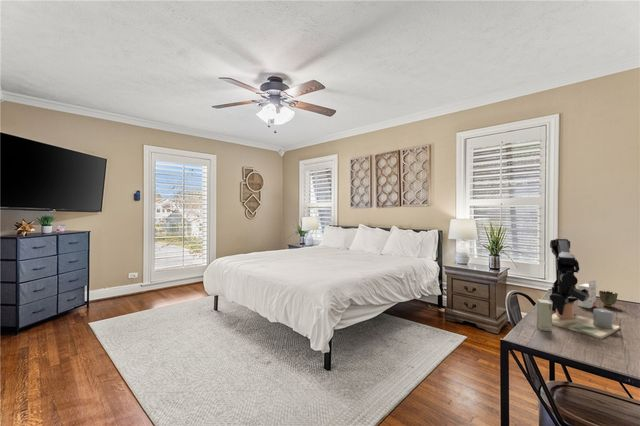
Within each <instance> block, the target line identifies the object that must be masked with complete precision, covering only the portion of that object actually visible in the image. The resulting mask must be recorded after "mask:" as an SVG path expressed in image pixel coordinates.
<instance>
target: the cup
mask: <svg viewBox="0 0 640 426" xmlns="http://www.w3.org/2000/svg"><path fill="white" fill-rule="evenodd" d="M598 295H599V300H600V302H601V303H602V306H604V307H605V308H613V305H615V304H616V303H617V300H618V293H617V292H615V293H613V291H609V290H607V291H605V290H604V291H603V290H599V291H598Z"/></svg>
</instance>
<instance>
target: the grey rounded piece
mask: <svg viewBox="0 0 640 426" xmlns="http://www.w3.org/2000/svg"><path fill="white" fill-rule="evenodd" d="M592 315H593V316H592V319H593V325H594V326H596V327H599V328H603V329H613V325H614V312H613V311H612V310H607V309H605V308H604V309H603V308H598V307H597V308H593V311H592Z"/></svg>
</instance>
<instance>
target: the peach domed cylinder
mask: <svg viewBox="0 0 640 426" xmlns="http://www.w3.org/2000/svg"><path fill="white" fill-rule="evenodd" d="M574 303H575V302H574ZM574 303H572V302H570V301H568V304H566V305H565V306H564V311H563V315H559V313H558V311H557V309H556V310H555V313H556V315H557V316H559V317H563V318H568V319H572V318H573V316H574V315H575V313H574V312H575V310H574V309H575V305H574Z"/></svg>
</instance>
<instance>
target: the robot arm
mask: <svg viewBox="0 0 640 426" xmlns="http://www.w3.org/2000/svg"><path fill="white" fill-rule="evenodd" d="M549 248H550V249H551V253H552V255H554V257H555V258H554V259H555V261H554V262H555V281H554V282H553V284H552V286H551V287H550V288H551V289H550V292H549V293H550V295H549V301H550V302H551V303H552V311H556V309H557V311H558V313H559V315H563V311H564V306H565V305H566V304H568V301H570V302H572V303H575V302H576V301H578V299H579V300H580V301H583V302H584V301H586V300H587V298H588V297H589V294H588V290H586V289H583V290H580V289H579V288H576V287H577V284H578V278H577V277H576V276H575V273H577V274H578V273H579V271H580V264H579V261H578V260H577V259H576V257H575V255H574V254H572V253H571V241H570V240H569V238H561V237H560V238H557V237H556V239H551V240H550V242H549Z"/></svg>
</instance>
